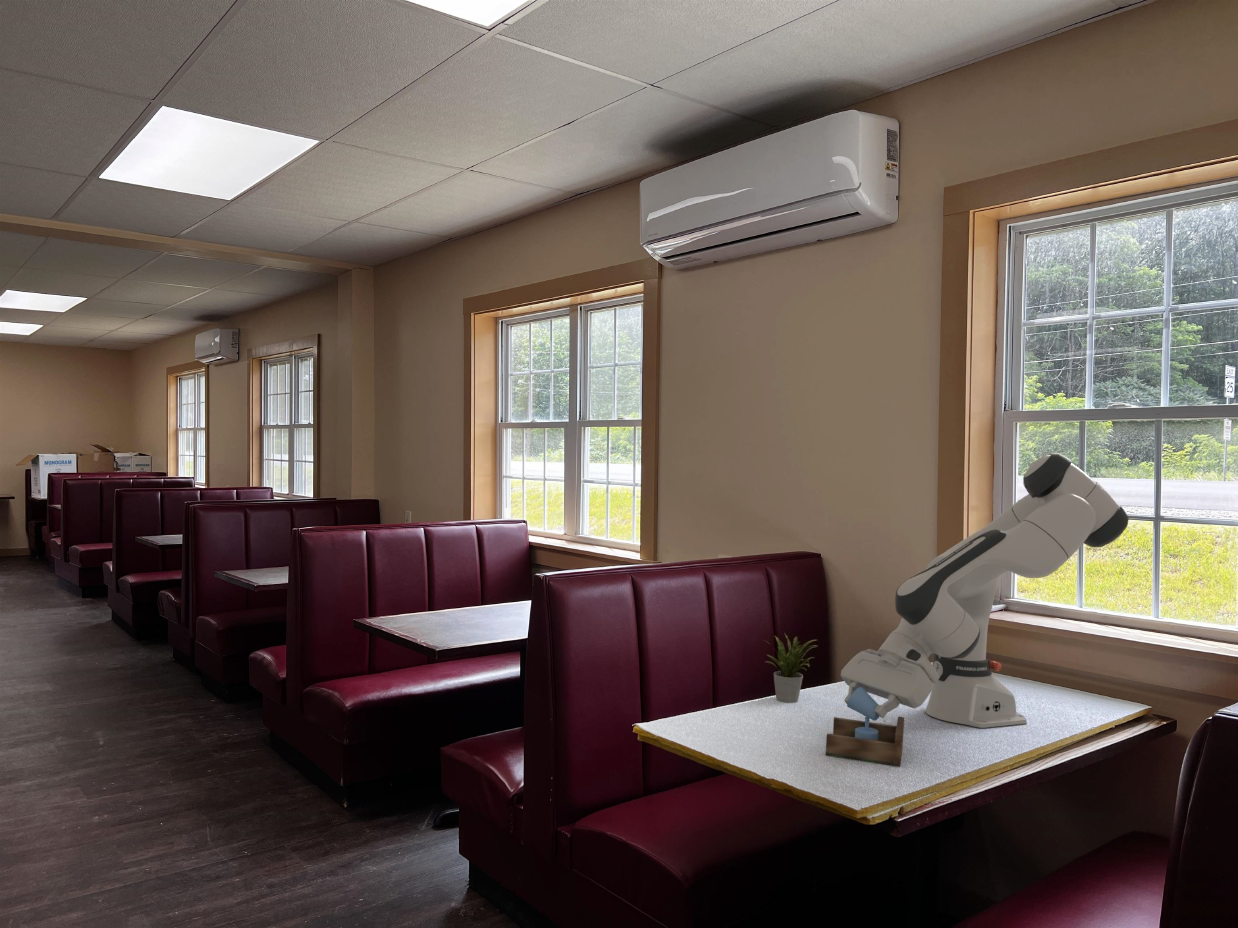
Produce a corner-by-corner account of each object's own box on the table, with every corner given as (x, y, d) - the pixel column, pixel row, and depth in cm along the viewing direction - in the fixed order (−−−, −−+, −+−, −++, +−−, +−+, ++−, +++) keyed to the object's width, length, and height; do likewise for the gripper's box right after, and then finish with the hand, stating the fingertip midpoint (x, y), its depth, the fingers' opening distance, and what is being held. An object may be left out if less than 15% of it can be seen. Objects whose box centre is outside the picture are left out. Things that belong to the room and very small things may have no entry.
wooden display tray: (825, 755, 172) (827, 724, 172) (833, 735, 185) (834, 707, 185) (900, 766, 167) (901, 735, 167) (902, 746, 180) (904, 717, 180)
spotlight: (842, 736, 177) (874, 744, 172) (844, 686, 177) (875, 693, 172) (855, 731, 180) (886, 739, 176) (856, 682, 180) (887, 689, 176)
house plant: (832, 701, 213) (836, 634, 213) (805, 712, 202) (809, 641, 203) (781, 689, 222) (784, 625, 222) (752, 699, 212) (755, 631, 212)
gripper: (857, 637, 189) (820, 686, 184) (931, 658, 171) (892, 712, 166) (871, 657, 191) (835, 705, 186) (946, 679, 173) (908, 733, 168)
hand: (862, 709), depth 176 cm, fingers closed on spotlight, 7 cm apart
